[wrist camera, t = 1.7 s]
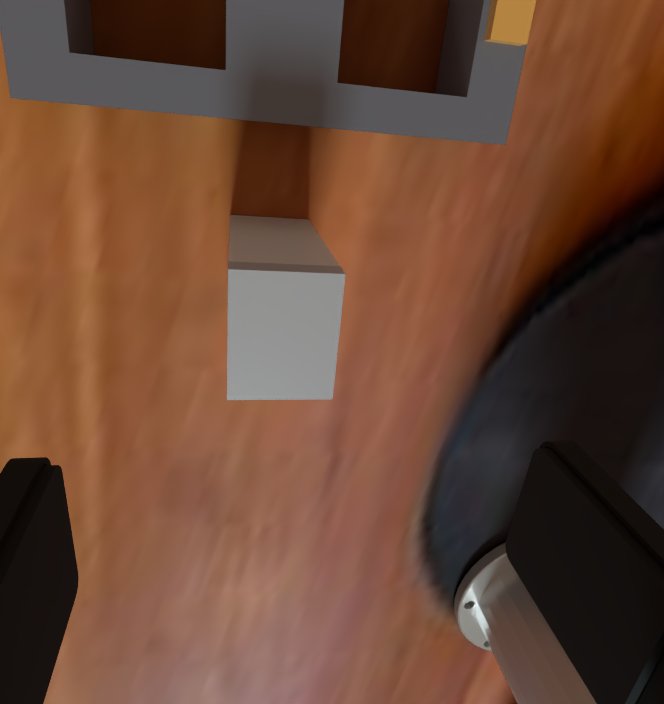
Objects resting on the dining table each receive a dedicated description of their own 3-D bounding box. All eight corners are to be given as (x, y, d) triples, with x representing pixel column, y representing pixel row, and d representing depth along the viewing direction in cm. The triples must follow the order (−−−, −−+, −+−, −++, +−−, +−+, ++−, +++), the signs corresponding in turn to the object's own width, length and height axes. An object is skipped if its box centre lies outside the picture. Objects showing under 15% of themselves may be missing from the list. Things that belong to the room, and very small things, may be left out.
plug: (308, 219, 27) (345, 274, 18) (302, 310, 29) (332, 399, 20) (230, 214, 26) (228, 269, 17) (229, 308, 28) (227, 399, 19)
